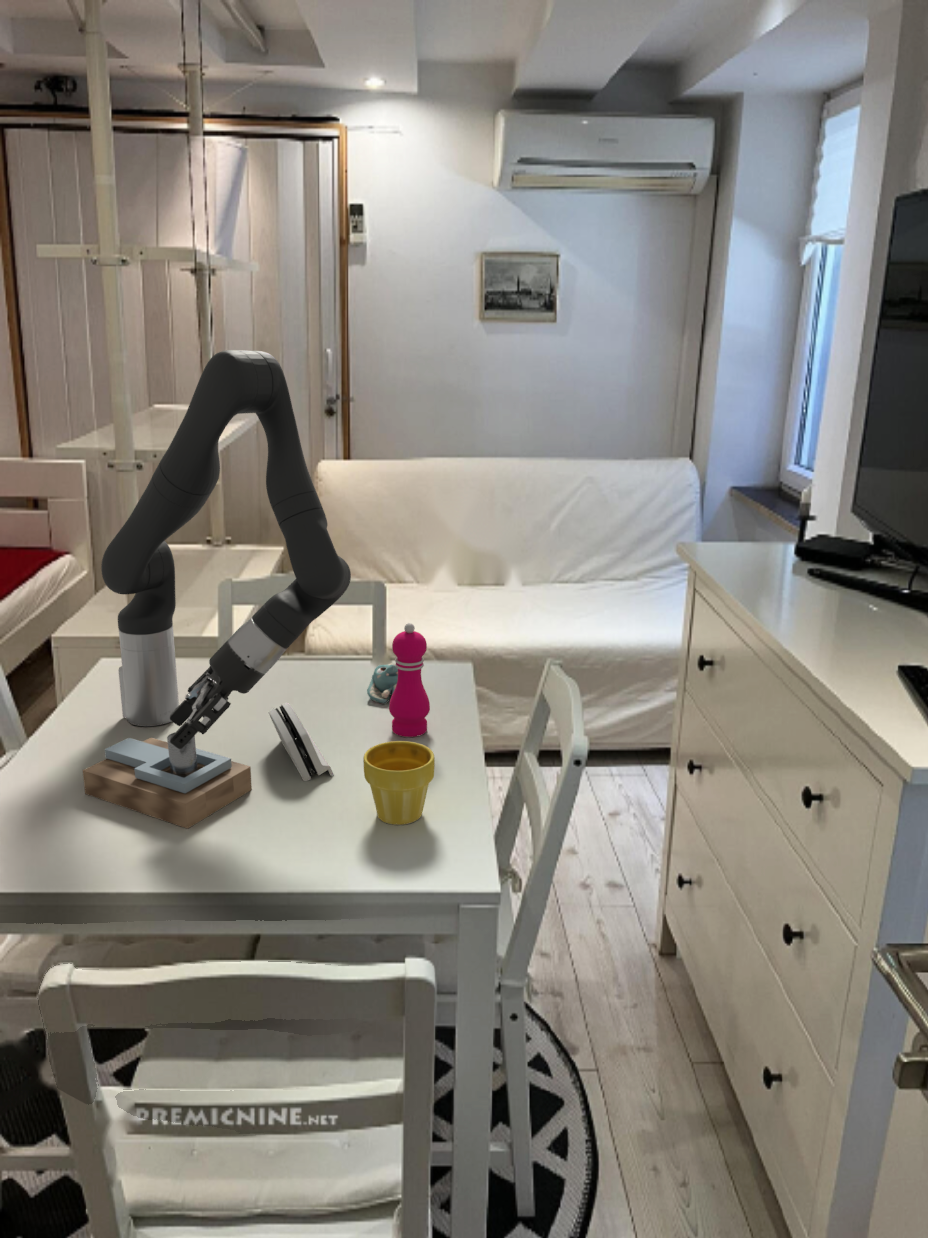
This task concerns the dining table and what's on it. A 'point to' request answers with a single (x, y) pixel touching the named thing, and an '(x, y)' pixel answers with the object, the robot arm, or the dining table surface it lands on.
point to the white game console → (298, 742)
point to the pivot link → (165, 764)
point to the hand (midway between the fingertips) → (174, 733)
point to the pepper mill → (409, 685)
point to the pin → (182, 758)
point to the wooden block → (165, 791)
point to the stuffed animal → (383, 683)
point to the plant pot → (399, 779)
